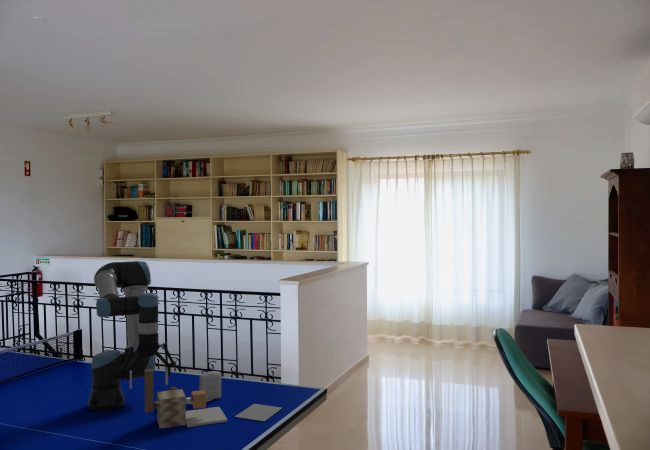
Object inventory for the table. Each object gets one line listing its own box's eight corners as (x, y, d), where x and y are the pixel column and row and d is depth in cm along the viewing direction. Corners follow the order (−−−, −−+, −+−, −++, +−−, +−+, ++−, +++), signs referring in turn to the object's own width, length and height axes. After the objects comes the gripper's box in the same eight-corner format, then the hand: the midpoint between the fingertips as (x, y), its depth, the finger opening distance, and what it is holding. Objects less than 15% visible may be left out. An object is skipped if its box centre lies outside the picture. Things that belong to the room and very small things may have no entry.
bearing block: (159, 428, 214) (159, 399, 214) (157, 419, 223) (156, 392, 223) (185, 424, 218) (185, 396, 218) (182, 416, 227) (182, 389, 227)
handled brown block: (145, 412, 215) (145, 372, 215) (144, 409, 219) (144, 369, 218) (211, 403, 225) (211, 365, 224) (210, 400, 228) (209, 362, 228)
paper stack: (214, 415, 229) (214, 413, 229) (244, 397, 252) (244, 395, 252) (264, 422, 221) (264, 421, 221) (290, 403, 244) (290, 401, 244)
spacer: (193, 408, 221) (193, 395, 221) (191, 404, 226) (191, 391, 226) (206, 407, 223) (205, 393, 223) (203, 403, 228) (203, 390, 228)
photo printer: (219, 395, 254) (219, 368, 254) (222, 398, 250) (222, 371, 250) (197, 399, 248) (197, 372, 248) (201, 402, 245) (201, 374, 245)
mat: (187, 427, 215) (187, 424, 215) (182, 414, 230) (182, 411, 230) (227, 421, 221) (227, 419, 221) (219, 408, 236) (219, 406, 236)
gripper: (115, 337, 209) (115, 392, 209) (182, 331, 218) (182, 384, 218) (114, 333, 216) (115, 386, 216) (179, 328, 225) (179, 379, 225)
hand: (148, 386), depth 217 cm, fingers open, 13 cm apart
